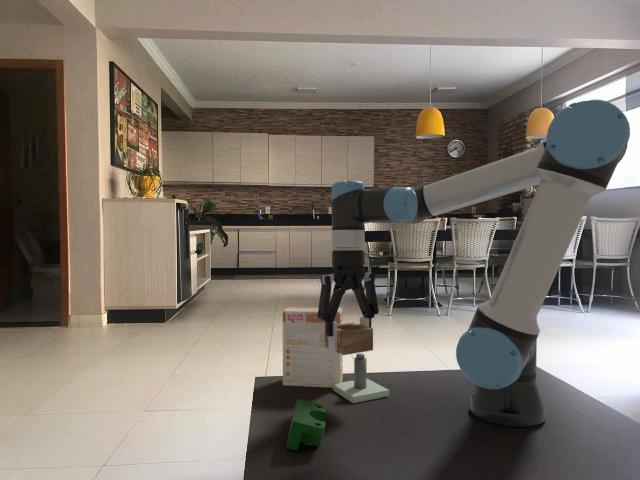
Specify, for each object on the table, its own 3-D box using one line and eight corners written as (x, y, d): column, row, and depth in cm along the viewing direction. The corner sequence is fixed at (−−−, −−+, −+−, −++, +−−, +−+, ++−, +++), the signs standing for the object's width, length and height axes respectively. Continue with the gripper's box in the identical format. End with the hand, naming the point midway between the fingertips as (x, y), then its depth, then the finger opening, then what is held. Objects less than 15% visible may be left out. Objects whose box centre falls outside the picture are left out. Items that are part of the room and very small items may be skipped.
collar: (373, 350, 106) (373, 328, 106) (343, 355, 102) (343, 332, 102) (353, 342, 113) (353, 322, 113) (325, 347, 109) (324, 325, 109)
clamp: (313, 472, 86) (324, 437, 82) (281, 463, 86) (291, 428, 82) (320, 422, 97) (330, 389, 93) (292, 415, 97) (301, 382, 93)
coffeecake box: (343, 379, 124) (343, 307, 124) (340, 389, 117) (340, 311, 117) (288, 377, 126) (288, 305, 126) (282, 386, 119) (282, 310, 119)
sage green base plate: (388, 396, 112) (389, 357, 112) (353, 403, 108) (353, 362, 107) (366, 383, 121) (366, 347, 121) (332, 389, 116) (332, 352, 116)
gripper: (375, 247, 115) (375, 338, 116) (300, 249, 105) (301, 350, 106) (394, 248, 109) (395, 345, 109) (316, 250, 99) (317, 357, 99)
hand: (349, 347), depth 107 cm, fingers closed on collar, 8 cm apart
